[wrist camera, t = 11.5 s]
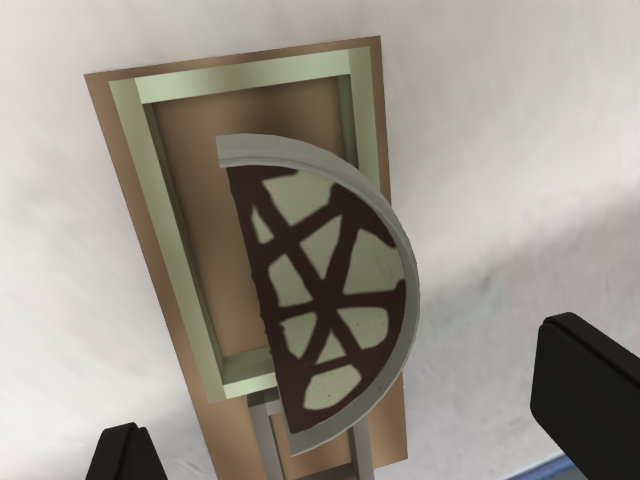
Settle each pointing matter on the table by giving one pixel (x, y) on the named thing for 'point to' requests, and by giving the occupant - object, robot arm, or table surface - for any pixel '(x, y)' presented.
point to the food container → (323, 280)
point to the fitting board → (226, 236)
